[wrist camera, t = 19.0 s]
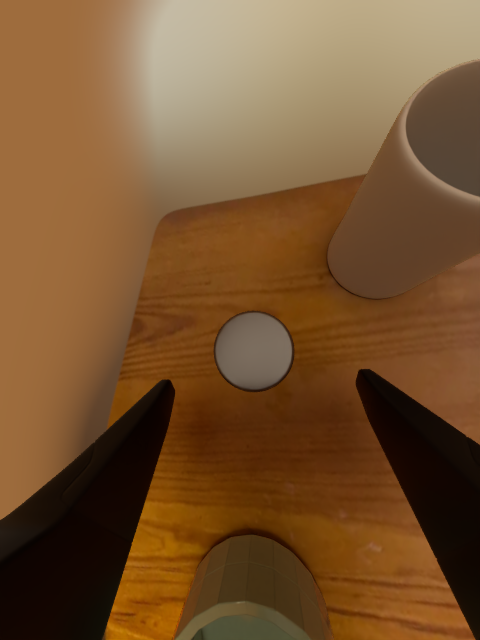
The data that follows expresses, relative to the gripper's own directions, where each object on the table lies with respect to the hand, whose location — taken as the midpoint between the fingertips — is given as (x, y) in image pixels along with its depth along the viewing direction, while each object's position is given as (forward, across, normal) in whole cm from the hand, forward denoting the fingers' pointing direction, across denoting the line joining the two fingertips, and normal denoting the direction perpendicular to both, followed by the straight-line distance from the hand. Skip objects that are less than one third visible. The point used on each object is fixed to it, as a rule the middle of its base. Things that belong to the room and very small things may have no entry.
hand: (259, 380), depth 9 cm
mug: (+14, -13, -2) cm, 19 cm away
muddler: (+7, 0, +5) cm, 9 cm away
